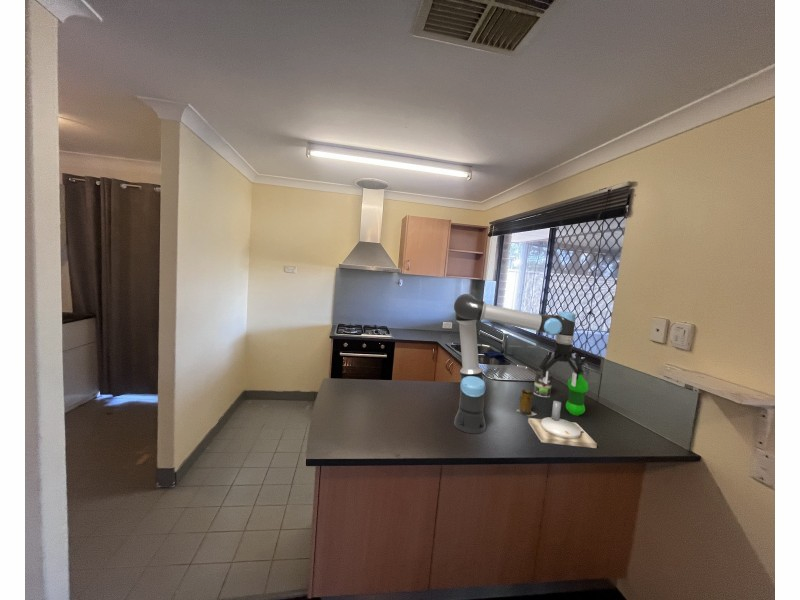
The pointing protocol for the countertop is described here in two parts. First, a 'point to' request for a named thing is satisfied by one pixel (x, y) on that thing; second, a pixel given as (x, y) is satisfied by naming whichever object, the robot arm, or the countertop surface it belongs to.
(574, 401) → the plastic bottle
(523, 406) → the condiment
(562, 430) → the dial
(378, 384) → the countertop surface
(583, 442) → the dial panel
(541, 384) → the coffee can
